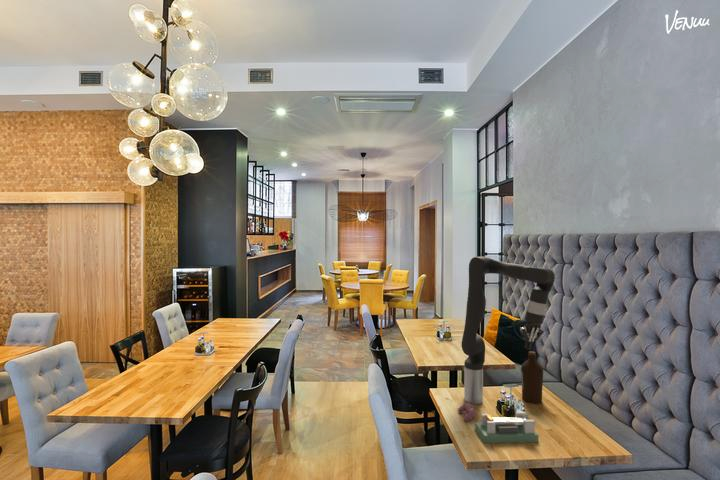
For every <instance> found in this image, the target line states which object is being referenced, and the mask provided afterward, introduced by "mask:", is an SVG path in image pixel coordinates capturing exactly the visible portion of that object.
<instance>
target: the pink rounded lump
mask: <svg viewBox="0 0 720 480" xmlns="http://www.w3.org/2000/svg"><path fill="white" fill-rule="evenodd" d="M457 411H458V413H460V414H461V413H464V414H465V415H464V417H463V418H462V419H463V421H464V422H468V421H471V420H472V418H474V417H475V415H476V409H475V406H474V405H473V404H472V403H469V402H466V401H465V403H464V404H463V405H461V406H460V407H459V408H458V410H457Z"/></svg>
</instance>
